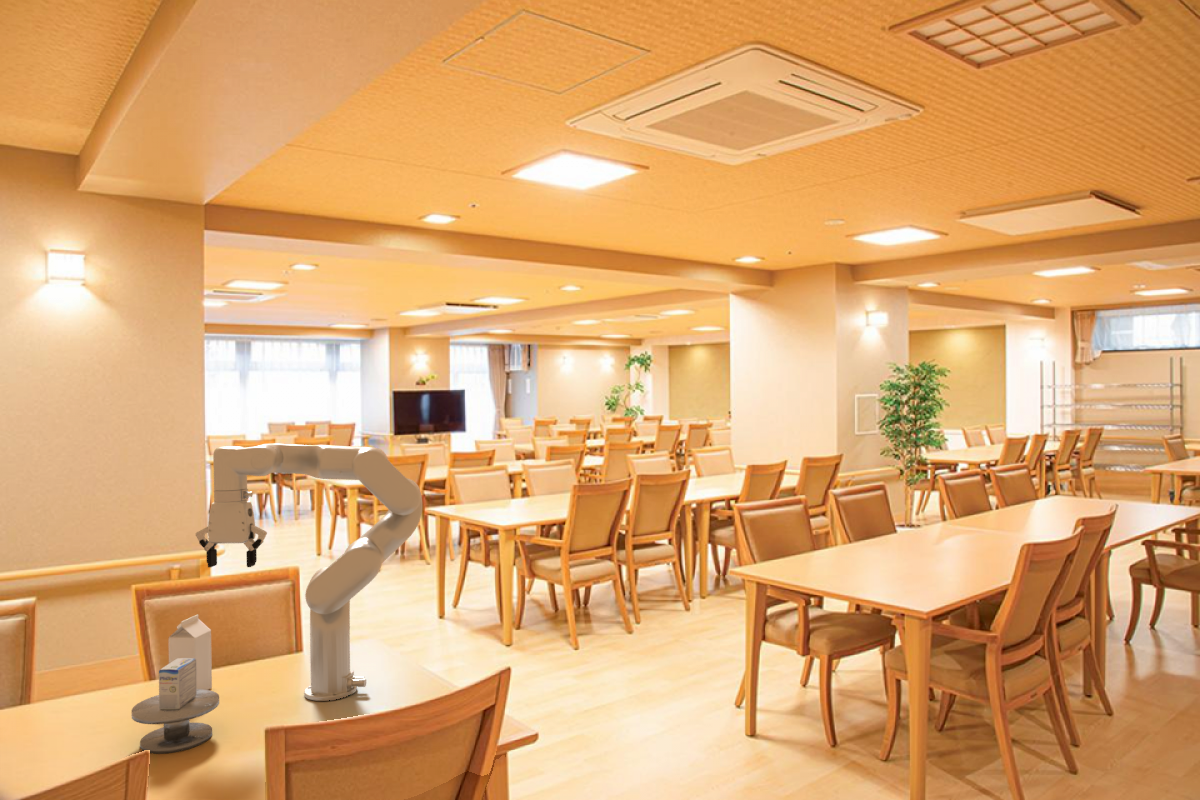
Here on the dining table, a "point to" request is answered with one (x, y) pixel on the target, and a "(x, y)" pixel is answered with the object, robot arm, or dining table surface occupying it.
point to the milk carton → (193, 648)
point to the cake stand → (175, 723)
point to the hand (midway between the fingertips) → (231, 566)
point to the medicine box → (177, 683)
